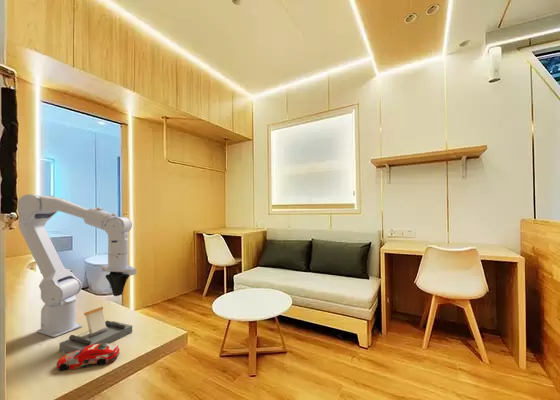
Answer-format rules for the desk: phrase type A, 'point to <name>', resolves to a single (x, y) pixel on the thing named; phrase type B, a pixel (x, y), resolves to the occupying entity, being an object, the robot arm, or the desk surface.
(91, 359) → the race car
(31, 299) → the desk surface
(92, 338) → the strip
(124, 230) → the robot arm
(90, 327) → the lever
